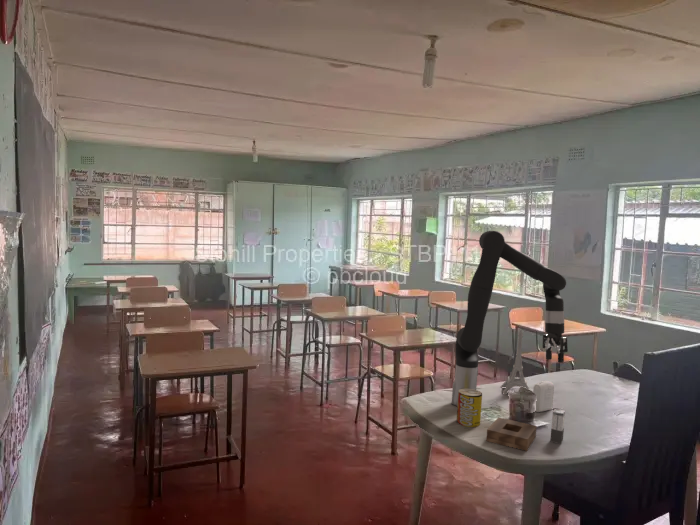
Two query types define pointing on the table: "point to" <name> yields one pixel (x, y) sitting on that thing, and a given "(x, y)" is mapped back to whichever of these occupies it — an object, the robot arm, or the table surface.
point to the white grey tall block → (557, 426)
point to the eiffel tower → (513, 380)
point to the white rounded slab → (544, 395)
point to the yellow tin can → (469, 407)
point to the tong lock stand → (511, 433)
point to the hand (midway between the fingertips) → (554, 360)
